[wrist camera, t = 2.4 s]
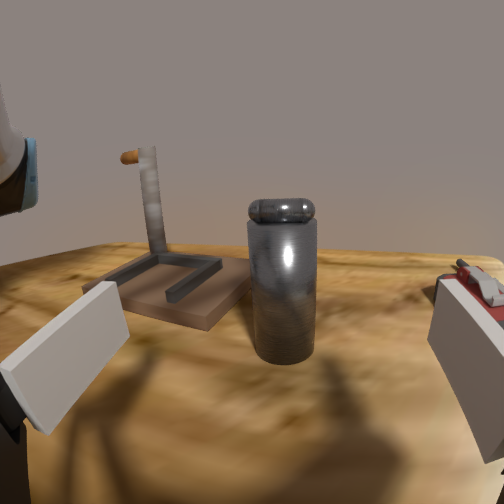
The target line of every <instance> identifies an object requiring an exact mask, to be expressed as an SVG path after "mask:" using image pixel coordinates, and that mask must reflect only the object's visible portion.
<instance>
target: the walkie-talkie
mask: <svg viewBox="0 0 504 504" xmlns="http://www.w3.org/2000/svg"><path fill="white" fill-rule="evenodd" d="M456 264H457V266H458V267H460V268H459V269H458V271H457V273H454V274H443V275H441V276H439V277H438V278H437V281H436V287H435V293H434V298H433V299H434V300H435V301H436V296H437V290H438V284H439V280H440V279H456V280H457V281H458V282H459V283H460V284H461V285H462V286H463V287H464V288H465V289H466V290H467V291H468V292H469V293H470V294H471V295H472V296H473V297H474V298H475V299H476V300H477V301H478V302H479V303H480V304H481V305H482V307H483V308H484V309H485V310H486V311H487V312H488V313H489V314H490V315H491V316H492V317H493V318H494V320H495V321H496V322H497V323H498V324H499V325H500V326H501V327H502V329H503V330H504V286H503V285H502V284H501V283H500V282H499V281H498V280H497V279H496V278H492V277H491V276H490V275H488V274H487V273H486V272H484V271H483V270H482V269H481V268H480V267H478V266H469V265H468V264H467V263H466V262H464V261H463V260H462V259H458V260H457V261H456Z"/></svg>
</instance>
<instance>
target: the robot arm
mask: <svg viewBox="0 0 504 504" xmlns="http://www.w3.org/2000/svg"><path fill="white" fill-rule="evenodd" d="M36 153H37V151H36V140H35V139H34V138H25V139H24V137H23V135H22V133H21V131H20V130H19V129H18V128H16V127H15V126H13V125H10V123H9V119H8V115H7V111H6V107H5V103H4V99H3V95H2V90H1V86H0V217H1V216H4V215H7V214H12V213H15V212H22V211H23V210H26V209H29V208H32V207H34V206H35V205H36V204H37V202H38V177H37V154H36ZM129 337H130V334H129V331H128V327H127V324H126V320H125V316H124V313H123V309H122V305H121V301H120V297H119V293H118V289H117V285H116V282H112V281H102V282H100V283H99V284H98V285H96V286H95V287H94V288H92V289H91V290H90V291H88V292H87V293H86V294H85V295H83V296H82V297H81V298H79V299H78V300H77V301H75V302H74V303H73V304H72V305H70V306H69V307H68V308H66V309H65V310H64V311H63V312H61V313H60V314H59V315H58V316H56V317H55V318H54V319H53V320H51V321H50V322H49V323H48V324H46V325H45V326H44V327H43V328H41V329H40V330H39V331H38V332H37V333H35V334H34V335H33V336H32V337H31V338H29V339H28V340H27V341H26V342H25V343H23V344H22V345H21V346H20V347H19V348H18V349H16V350H15V351H14V352H13V353H12V354H11V355H9V356H8V357H7V358H6V359H5V360H4V361H2V362H1V363H0V504H31V498H30V489H29V479H28V464H27V430H26V426H25V424H24V423H23V420H24V419H25V418H26V417H27V418H28V420H29V421H30V423H31V424H32V426H33V427H34V429H36V430H38V431H40V432H42V433H44V434H46V435H48V436H49V435H50V434H51V432H52V431H53V430H54V428H55V427H56V426H57V425H58V423H59V422H60V421H61V419H62V418H63V417H64V416H65V414H66V413H67V412H68V411H69V409H70V408H71V407H72V406H73V404H74V403H75V402H76V401H77V399H78V398H79V397H80V396H81V394H82V393H83V392H84V391H85V390H86V388H87V387H88V386H89V385H90V383H91V382H92V381H93V380H94V378H95V377H96V376H97V375H98V374H99V372H100V371H101V370H102V369H103V368H104V366H105V365H106V364H107V363H108V362H109V360H110V359H111V358H112V357H113V356H114V354H115V353H116V352H117V351H118V350H119V348H120V347H121V346H122V345H123V344H124V343H125V341H126V340H127V339H128V338H129ZM427 340H428V342H429V344H430V346H431V348H432V350H433V351H434V353H435V355H436V357H437V359H438V361H439V363H440V365H441V367H442V369H443V371H444V373H445V374H446V376H447V378H448V380H449V383H450V385H451V387H452V389H453V391H454V393H455V395H456V397H457V399H458V401H459V403H460V406H461V408H462V410H463V412H464V414H465V417H466V419H467V421H468V424H469V426H470V428H471V431H472V433H473V435H474V438H475V440H476V443H477V445H478V448H479V450H480V453H481V455H482V458H483V461H484V463H485V464H487V463H489V462H492V461H495V460H498V459H500V458H503V457H504V330H503V329H502V327H501V326H500V325H499V324H498V323H497V322H496V321H495V320H494V318H493V317H492V316H491V315H490V314H489V313H488V312H487V311H486V310H485V309H484V308H483V307H482V305H481V304H480V303H479V302H478V301H477V300H476V299H475V298H474V297H473V296H472V295H471V294H470V293H469V292H468V291H467V290H466V289H465V288H464V287H463V286H462V285H461V284H460V283H459V282H458V281H457V280H456V279H440V280H439V284H438V290H437V296H436V301H435V306H434V311H433V316H432V321H431V325H430V330H429V334H428V338H427ZM501 474H502V475H504V469H503V471H502V472H501ZM496 504H504V485H503V488H502V490H501V493H500V496H499V498H498V500H497V503H496Z"/></svg>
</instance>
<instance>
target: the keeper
mask: <svg viewBox="0 0 504 504" xmlns="http://www.w3.org/2000/svg"><path fill="white" fill-rule="evenodd" d="M120 160H121V162H122V163H123V164H125V165H128V164H135V163H139V170H140V180H141V189H142V198H143V205H144V213H145V220H146V227H147V234H148V241H149V247H150V252H148V253H146V254H144V255H142V256H140V257H138V258H136V259H134V260H132V261H130V262H128V263H126V264H124V265H122V266H120V267H118V268H116V269H114V270H112V271H110V272H108V273H106V274H104V275H103V276H101V277H99V278H97V279H95V280H93V281H91V282H89V283H87V284H85V285H83V286H82V290H83V294H84V295H85V294H86V293H87V292H88V291H90V290H91V289H92V288H94V287H95V286H96V285H98V284H99V283H100V282H102V281H112V282H116V285H117V289H118V293H119V297H120V301H121V305H122V309H123V310H127V311H130V312H134V313H137V314H141V315H144V316H148V317H152V318H156V319H159V320H163V321H167V322H171V323H175V324H179V325H183V326H187V327H191V328H196V329H200V330H204V331H209V330H210V329H211V328H212V327H213V326H214V325H215V324H216V323H217V322H218V321H219V320H220V319H221V318H222V317H223V316H224V315H225V314H226V313H227V312H228V311H229V310H230V309H231V308H232V307H233V306H234V305H235V304H236V303H237V302H238V300H239V299H240V298H241V297H242V296H243V295H244V294H245V293H246V292H247V291H248V290H249V289H250V288H251V275H250V261H249V259H242V258H231V257H221V256H210V255H200V254H189V253H179V252H168V251H167V246H166V239H165V232H164V225H163V216H162V209H161V200H160V191H159V181H158V171H157V161H156V149H155V146H152V147H144V148H138V150H134V151H129V152H125V153H123V154H122V155H121V158H120Z"/></svg>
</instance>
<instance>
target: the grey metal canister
mask: <svg viewBox="0 0 504 504" xmlns="http://www.w3.org/2000/svg"><path fill="white" fill-rule="evenodd" d="M248 214H249V217H250V219H251V220H249V221H248V222H247V229H248V230H247V231H248V246H249V261H250V275H251V290H252V304H253V319H254V333H255V347H256V353H257V355H258V356H259V357H260V358H261V359H263V360H264V361H266V362H269V363H271V364H276V365H292V364H296V363H300V362H302V361H304V360H306V359H307V358H308V357H310V356H311V354H312V353H313V350H314V338H315V315H316V281H317V220H316V219H315V218H313V217H314V214H315V207H314V205H313V203H312V202H311V201H310V200H308V199H303V198H292V199H260V200H255V201H253V202H252V203H251V204H250V206H249V208H248Z"/></svg>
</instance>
